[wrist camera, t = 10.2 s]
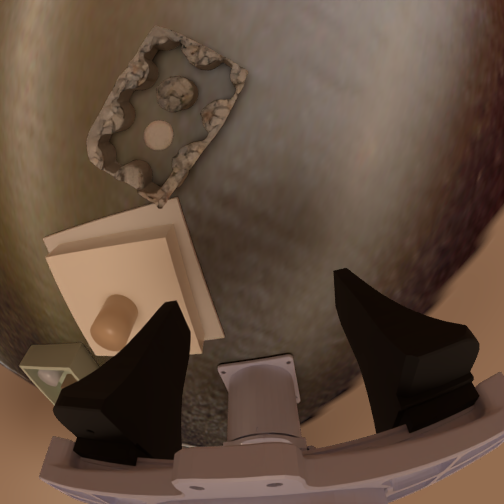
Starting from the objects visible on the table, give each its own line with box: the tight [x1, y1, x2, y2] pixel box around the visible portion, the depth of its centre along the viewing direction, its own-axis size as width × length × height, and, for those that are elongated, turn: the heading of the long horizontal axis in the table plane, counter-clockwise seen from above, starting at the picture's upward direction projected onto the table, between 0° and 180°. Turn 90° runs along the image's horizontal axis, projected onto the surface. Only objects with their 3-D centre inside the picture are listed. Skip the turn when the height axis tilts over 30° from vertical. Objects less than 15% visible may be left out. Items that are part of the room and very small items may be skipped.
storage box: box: [19, 343, 99, 406], centre depth 29 cm, size 10×10×4 cm
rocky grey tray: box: [87, 26, 248, 209], centre depth 17 cm, size 11×8×4 cm
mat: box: [43, 196, 225, 340], centre depth 25 cm, size 14×14×1 cm
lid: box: [45, 224, 205, 356], centre depth 22 cm, size 11×11×6 cm
